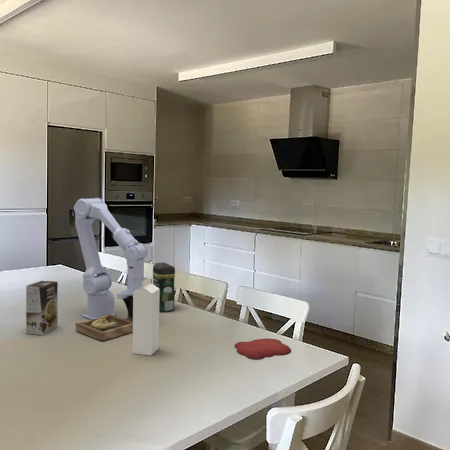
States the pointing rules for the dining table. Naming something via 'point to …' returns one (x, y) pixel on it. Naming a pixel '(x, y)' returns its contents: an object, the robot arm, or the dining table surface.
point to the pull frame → (104, 335)
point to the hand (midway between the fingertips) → (135, 315)
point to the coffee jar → (164, 285)
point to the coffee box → (41, 307)
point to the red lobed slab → (262, 348)
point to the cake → (103, 325)
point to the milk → (146, 319)
